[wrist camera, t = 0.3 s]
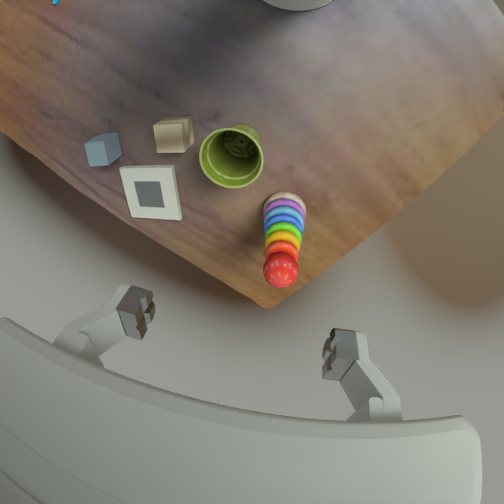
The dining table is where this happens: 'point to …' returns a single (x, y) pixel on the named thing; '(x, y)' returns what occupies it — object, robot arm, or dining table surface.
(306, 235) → the dining table surface
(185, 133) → the maple block
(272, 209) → the stacking toy
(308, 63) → the dining table surface
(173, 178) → the plate
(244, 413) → the robot arm
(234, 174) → the plant pot
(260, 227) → the dining table surface
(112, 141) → the slate blue block
